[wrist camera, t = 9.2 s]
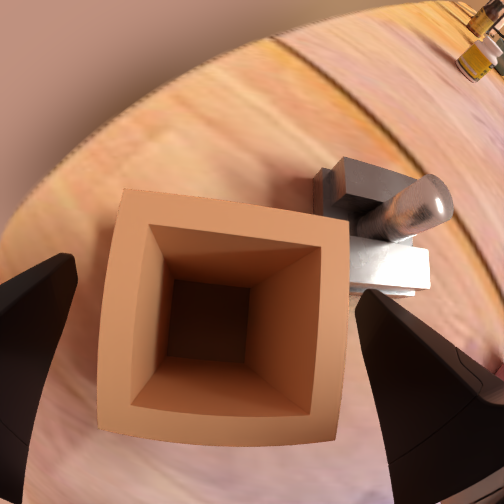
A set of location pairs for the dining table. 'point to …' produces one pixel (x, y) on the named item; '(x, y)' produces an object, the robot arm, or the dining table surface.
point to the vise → (383, 223)
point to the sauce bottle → (485, 18)
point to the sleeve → (258, 328)
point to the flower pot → (500, 57)
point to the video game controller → (500, 372)
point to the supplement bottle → (479, 59)
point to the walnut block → (208, 322)
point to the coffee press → (496, 22)
